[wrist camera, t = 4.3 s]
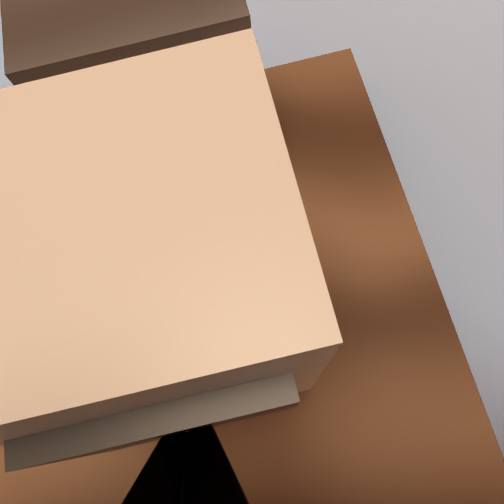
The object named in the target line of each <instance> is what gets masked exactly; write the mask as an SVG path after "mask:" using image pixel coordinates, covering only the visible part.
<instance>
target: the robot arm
mask: <svg viewBox="0 0 504 504" xmlns="http://www.w3.org/2000/svg"><path fill="white" fill-rule="evenodd" d="M121 504H250V503H249V501H248V499H247V497H246V495H245V493H244V491H243V489H242V487H241V484H240V482H239V480H238V478H237V476H236V474H235V472H234V470H233V467H232V465H231V463H230V461H229V459H228V457H227V455H226V453H225V450H224V448H223V446H222V444H221V442H220V440H219V438H218V436H217V434H216V431H215V429H214V427H213V426H212V425H209V426H205V427H201V428H197V429H192V430H189V431H188V432H187V431H184V432H180V433H176V434H172V435H167V436H163V437H161V438H160V440H159V441H158V443H157V445H156V446H155V448H154V450H153V451H152V453H151V455H150V456H149V458H148V460H147V461H146V463H145V465H144V466H143V468H142V470H141V471H140V473H139V475H138V477H137V478H136V480H135V482H134V483H133V485H132V487H131V488H130V490H129V492H128V493H127V495H126V497H125V498H124V500H123V502H122V503H121Z"/></svg>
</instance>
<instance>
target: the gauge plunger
mask: <svg viewBox="0 0 504 504" xmlns="http://www.w3.org/2000/svg"><path fill="white" fill-rule="evenodd" d="M342 343H343V340H342V337H341V333H340V330H339V327H338V323H337V320H336V316H335V313H334V309H333V306H332V302H331V299H330V296H329V292H328V289H327V285H326V282H325V278H324V275H323V271H322V268H321V264H320V261H319V258H318V254H317V251H316V247H315V244H314V240H313V237H312V233H311V230H310V226H309V223H308V220H307V216H306V213H305V209H304V206H303V202H302V199H301V195H300V192H299V189H298V185H297V182H296V178H295V175H294V171H293V168H292V164H291V161H290V157H289V154H288V151H287V147H286V144H285V140H284V137H283V133H282V130H281V126H280V123H279V119H278V116H277V113H276V109H275V106H274V102H273V99H272V95H271V92H270V88H269V85H268V81H267V78H266V75H265V71H264V68H263V64H262V61H261V57H260V54H259V50H258V47H257V44H256V40H255V37H254V33H253V30H252V28H250V29H246V30H242V31H238V32H233V33H229V34H225V35H221V36H217V37H213V38H209V39H204V40H200V41H196V42H192V43H188V44H184V45H180V46H176V47H171V48H167V49H163V50H159V51H155V52H151V53H147V54H142V55H138V56H134V57H130V58H126V59H122V60H118V61H114V62H109V63H105V64H101V65H97V66H93V67H89V68H85V69H80V70H76V71H72V72H68V73H64V74H60V75H56V76H52V77H47V78H43V79H39V80H35V81H31V82H27V83H23V84H18V85H14V86H10V87H6V88H2V89H0V446H4V462H5V473H6V472H11V471H16V470H21V469H26V468H31V467H36V466H41V465H46V464H51V463H56V462H61V461H66V460H71V459H76V458H80V457H85V456H90V455H95V454H100V453H105V452H110V451H115V450H119V449H123V448H127V447H131V446H136V445H140V444H144V443H148V442H152V441H156V440H160V438H161V437H163V436H167V435H172V434H176V433H180V432H184V431H187V432H188V431H189V430H192V429H197V428H201V427H205V426H209V425H212V426H213V427H215V426H219V425H223V424H227V423H231V422H236V421H240V420H244V419H248V418H252V417H256V416H261V415H265V414H269V413H273V412H277V411H281V410H286V409H290V408H294V407H297V406H298V405H299V403H300V399H299V395H298V392H301V391H305V390H310V389H311V387H312V386H313V385H314V383H315V382H316V380H317V379H318V377H319V376H320V375H321V373H322V372H323V370H324V369H325V368H326V366H327V365H328V363H329V362H330V360H331V359H332V358H333V356H334V355H335V353H336V352H337V350H338V349H339V348H340V346H341V345H342Z"/></svg>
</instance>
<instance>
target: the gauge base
mask: <svg viewBox="0 0 504 504" xmlns="http://www.w3.org/2000/svg"><path fill="white" fill-rule="evenodd" d="M1 17H2V34H3V51H4V68H5V75H6V76H7V78H8V79H9V80H10V81H11V82H12V84H13V85H18V84H23V83H27V82H31V81H35V80H39V79H43V78H47V77H52V76H56V75H60V74H64V73H68V72H72V71H76V70H80V69H85V68H89V67H93V66H97V65H101V64H105V63H109V62H114V61H118V60H122V59H126V58H130V57H134V56H138V55H142V54H147V53H151V52H155V51H159V50H163V49H167V48H171V47H176V46H180V45H184V44H188V43H192V42H196V41H200V40H204V39H209V38H213V37H217V36H221V35H225V34H229V33H233V32H238V31H242V30H246V29H250V28H251V21H250V14H249V10H248V7H247V4H246V0H1ZM264 71H265V75H266V78H267V81H268V85H269V88H270V92H271V95H272V99H273V102H274V106H275V109H276V113H277V116H278V119H279V123H280V126H281V130H282V133H283V137H284V140H285V144H286V147H287V151H288V154H289V157H290V161H291V164H292V168H293V171H294V175H295V178H296V182H297V185H298V189H299V192H300V195H301V199H302V202H303V206H304V209H305V213H306V216H307V220H308V223H309V226H310V230H311V233H312V237H313V240H314V244H315V247H316V251H317V254H318V258H319V261H320V264H321V268H322V271H323V275H324V278H325V282H326V285H327V289H328V292H329V296H330V299H331V302H332V306H333V309H334V313H335V316H336V320H337V323H338V327H339V330H340V333H341V337H342V340H343V343H342V345H341V346H340V348H339V349H338V350H337V352H336V353H335V355H334V356H333V358H332V359H331V360H330V362H329V363H328V365H327V366H326V368H325V369H324V370H323V372H322V373H321V375H320V376H319V377H318V379H317V380H316V382H315V383H314V385H313V386H312V387H311V389H310V390H305V391H301V392H298V395H299V399H300V403H299V405H298V406H297V407H294V408H290V409H286V410H281V411H277V412H273V413H269V414H265V415H261V416H256V417H252V418H248V419H244V420H240V421H236V422H231V423H227V424H223V425H219V426H215V427H214V429H215V431H216V434H217V436H218V438H219V440H220V442H221V444H222V446H223V448H224V450H225V453H226V455H227V457H228V459H229V461H230V463H231V465H232V467H233V470H234V472H235V474H236V476H237V478H238V480H239V482H240V484H241V487H242V489H243V491H244V493H245V495H246V497H247V499H248V501H249V503H250V504H504V459H503V456H502V453H501V451H500V448H499V445H498V443H497V440H496V437H495V435H494V432H493V429H492V426H491V424H490V421H489V418H488V416H487V413H486V410H485V408H484V405H483V402H482V400H481V397H480V394H479V392H478V389H477V386H476V384H475V381H474V378H473V376H472V373H471V370H470V368H469V365H468V362H467V360H466V357H465V354H464V352H463V349H462V346H461V344H460V341H459V338H458V335H457V333H456V330H455V327H454V325H453V322H452V319H451V317H450V314H449V311H448V309H447V306H446V303H445V301H444V298H443V295H442V293H441V290H440V287H439V285H438V282H437V279H436V277H435V274H434V271H433V269H432V266H431V263H430V261H429V258H428V255H427V252H426V250H425V247H424V244H423V242H422V239H421V236H420V234H419V231H418V228H417V226H416V223H415V220H414V218H413V215H412V212H411V210H410V207H409V204H408V202H407V199H406V196H405V194H404V191H403V188H402V186H401V183H400V180H399V178H398V175H397V172H396V170H395V167H394V164H393V161H392V159H391V156H390V153H389V151H388V148H387V145H386V143H385V140H384V137H383V135H382V132H381V129H380V127H379V124H378V121H377V119H376V116H375V113H374V111H373V108H372V105H371V103H370V100H369V97H368V95H367V92H366V89H365V87H364V84H363V81H362V78H361V76H360V73H359V70H358V68H357V65H356V62H355V60H354V57H353V54H352V52H351V49H346V50H342V51H337V52H333V53H329V54H325V55H321V56H317V57H313V58H309V59H304V60H300V61H296V62H292V63H288V64H284V65H280V66H275V67H271V68H267V69H264ZM158 441H159V440H156V441H152V442H148V443H144V444H140V445H136V446H131V447H127V448H123V449H119V450H115V451H110V452H105V453H100V454H95V455H90V456H85V457H80V458H76V459H71V460H66V461H61V462H56V463H51V464H46V465H41V466H36V467H31V468H26V469H21V470H16V471H11V472H6V473H5V462H4V446H0V504H121V503H122V502H123V500H124V498H125V497H126V495H127V493H128V492H129V490H130V488H131V487H132V485H133V483H134V482H135V480H136V478H137V477H138V475H139V473H140V471H141V470H142V468H143V466H144V465H145V463H146V461H147V460H148V458H149V456H150V455H151V453H152V451H153V450H154V448H155V446H156V445H157V443H158Z"/></svg>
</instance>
